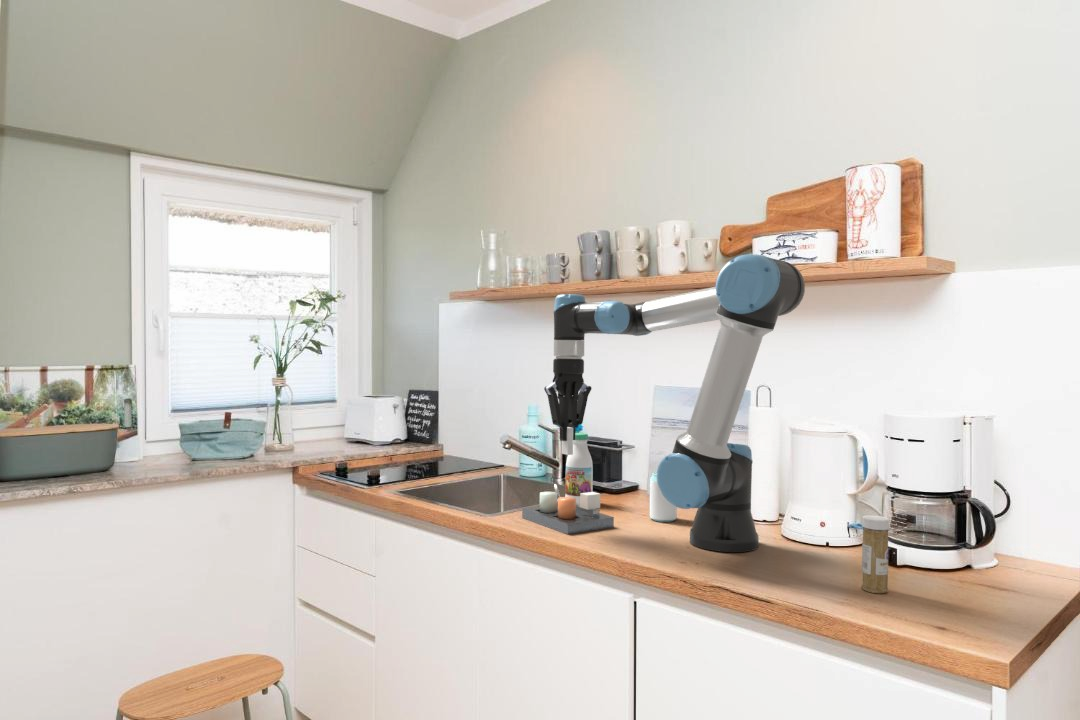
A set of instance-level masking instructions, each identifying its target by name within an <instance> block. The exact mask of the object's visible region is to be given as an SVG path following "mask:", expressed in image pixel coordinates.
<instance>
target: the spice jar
mask: <svg viewBox="0 0 1080 720" xmlns="http://www.w3.org/2000/svg"><path fill="white" fill-rule="evenodd" d="M861 518H862V520H861V526H862V543H861V544H862V545H861V546H862V547H861V548H862V550H861V551H862V554H861V555H862V556H861V557H862V559H861V571H862V581H861V582H862V583H861V589H862V590H864V591H866V592H868V593H872V594H886V593H888V592H889V586H888V585H889V583H888V579H889V577H888V576H889V575H888V574H889V529H890V525H891V523H890V522H891V521H890V519H889V517H886V516H883V515H875V514H867V515H863V516H862V517H861Z"/></svg>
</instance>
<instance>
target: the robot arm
mask: <svg viewBox="0 0 1080 720" xmlns="http://www.w3.org/2000/svg"><path fill="white" fill-rule="evenodd" d="M805 284H806V283H805V280H804V277H803V274H802V273H801V271H800V270H799V269H798V268H797V267H796V266H795V265H793V264H792V263H790V262H787V261H785V260H781V259H775V258H772V257H769V256H765V255H764V254H761V255H760V254H756V253H755V254H750V253H749V254H741V255H738V256H736V257H734V258H732V259H731V260H729V261H727V262H726V263H725V264H724V266H723V267H722V268H721V269H720V272H719V273H718V275H717V276H716V281H715V286H712V287H707V288H704V289H699V290H694V291H689V292H685V293H679V294H675V295H671V296H667V297H661V298H658V299H652V300H651V299H650V300H647V301H642V302H638V303H634V304H632V303H631V304H630V303H629V304H628V303H623V302H622V301H619V300H618V301H617V300H605V301H591V302H586V297H585V296H584V295H583V294H575V293H573V294H572V293H571V294H570V293H569V294H568V293H566V294H563V293H562V294H558V295H557V296H556V297H555V298H554V306H553V307H554V308H553V325H554V327H553V328H554V329H553V356H554V357H555V358H554V359H553V362H552V364H553V367H552V370H553V371H552V372H553V379H552V383H550V384H549V385H546V386H544V393H546V396H547V399H548V405H549V411H550V416H551V423H552V424H553V425H555V426H556V427H558V428H559V441H561V455H567V456H568V455H573V440H575V433H576V429H577V428H579V426H581V425H582V424H583V423H584V417H585V413H586V408H587V403H588V398H589V395H590V392H591V391H592V389H593V388H592V386H590V385H587V384H586V383H585V381H584V378H583V374H584V372H585V360H584V358H583V357H585V334H597V335H598V334H603V335H604V334H606V335H630V336H635V337H636V336H637V337H639V336H647V335H649V334H651V333H653V332H656V331H657V332H658V331H662V330H668V329H673V328H674V329H675V328H680V327H685V326H691V325H697V324H702V323H709V322H713V321H718V320H719V322H720V327H719V329H718V331H717V332H718V333H717V335H716V336H717V337H716V340H715V342H714V346H713V348H712V352H711V355H710V358H709V361H708V364H707V368H706V369H705V370H706V371H705V373H704V377H703V379H702V382H701V385H700V386H701V387H700V389H699V393H698V396H697V398H696V402H695V404H694V408H693V411H692V414H691V417H690V420H689V423H688V427H687V430H686V432H683V433H681V434H678V436H677V437H676V440H675V444H674V446H673V449H672V453H669V454H668V455H666V456H665V457H664V458H662V460H661V461H660V462H659V464H658V466H657V469H656V472H657V483H658V486H659V488H660V490H661V492H662V495H663V496H664V497H665V499H666V500H667V501H668V502H670V503H671V504H672V505H674V506H676V507H677V508H679V509H683V510H686V509H687V510H688V509H697V510H696V513H695V516H694V519H693V521H692V522H693V523H692V527H691V528H690V530H689V542H690V544H691V545H693V546H695V547H697V548H700V549H704V550H708V551H713V552H720V553H721V552H722V553H745V552H751V551H754V550H757V549H758V548H759V542H760V541H759V540H760V538H759V533H758V532H757V529H756V526H755V521H754V518H753V514H752V481H753V480H752V476H753V475H752V474H753V472H752V469H753V462H754V461H753V456H752V449H751V446H748V445H747V444H742V443H741V444H740V443H729V439H730V436H731V434H732V430H733V427H734V425H735V421H736V419H737V415H738V413H739V410H740V406H741V403H742V401H743V398H744V394H745V391H746V389H747V385H748V383H749V379H750V376H751V373H752V370H753V368H754V365H755V362H756V359H757V356H758V352H759V350H760V347H761V343H762V341H763V338H764V336H765V335H767V334H769V333H771V332H774V328H775V326H776V323H777V321H778V317H781V316H785V315H787V314H789V313H791V312H793V311H794V310H796V308H798V306H799V305H800V304H801V302H802V301H803V298H804V295H805V292H806V291H805V290H806V285H805Z"/></svg>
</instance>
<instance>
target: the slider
mask: <svg viewBox="0 0 1080 720" xmlns="http://www.w3.org/2000/svg"><path fill="white" fill-rule="evenodd" d="M580 507H581V508H584V509H587V510H588V509H600V508H601V493H599V492H594V491H593V492H587V493H580Z"/></svg>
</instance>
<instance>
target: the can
mask: <svg viewBox="0 0 1080 720" xmlns="http://www.w3.org/2000/svg"><path fill="white" fill-rule="evenodd" d="M651 474H652V475H651V477H650V478H649V507H648V508H649V512H648V513H649V516H648V517H649V518H651V519H652V521H655V522H659V523H660V522H661V523H670V522H671V523H672V522H674V520H677V518H678V507H676V506H674V505H672V504H671V503H670V502H668V501H667V500H666V499H665V497H664V496H663V495H662V492H661V490H660V488H659V486H658V483H657V471H655V472H652V473H651Z"/></svg>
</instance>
